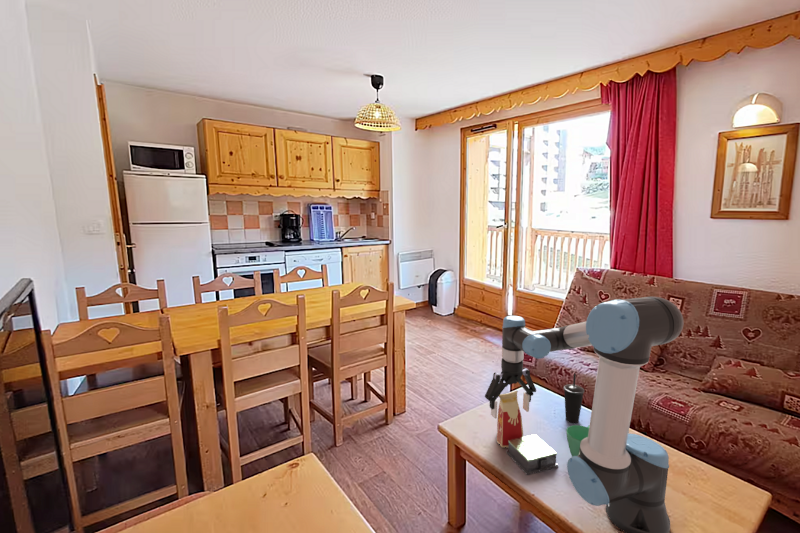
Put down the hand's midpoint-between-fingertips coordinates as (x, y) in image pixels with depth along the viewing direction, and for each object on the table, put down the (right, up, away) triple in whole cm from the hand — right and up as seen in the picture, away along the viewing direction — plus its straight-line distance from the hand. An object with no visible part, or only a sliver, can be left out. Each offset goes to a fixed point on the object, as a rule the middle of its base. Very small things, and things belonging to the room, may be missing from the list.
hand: (510, 413), depth 140 cm
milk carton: (0, -11, +2) cm, 11 cm away
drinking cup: (+30, -9, +15) cm, 34 cm away
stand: (+5, -13, -9) cm, 16 cm away
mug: (+23, -12, -8) cm, 27 cm away
